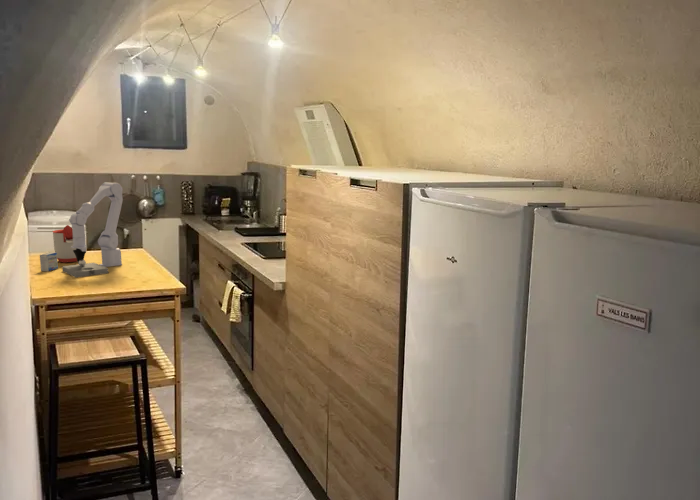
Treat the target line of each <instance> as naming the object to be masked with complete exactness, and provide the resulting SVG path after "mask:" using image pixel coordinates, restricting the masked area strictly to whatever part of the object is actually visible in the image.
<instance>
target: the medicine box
mask: <svg viewBox="0 0 700 500" xmlns="http://www.w3.org/2000/svg"><path fill="white" fill-rule="evenodd" d="M39 260H40V261H39V263H40V271H41V272H51V270H52V271H54V270H57V269H58V268H59V265H58V264H59V263H58V259H57V253H56V252H55V251H52V252H45V253H43V254H39Z"/></svg>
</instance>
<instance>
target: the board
mask: <svg viewBox="0 0 700 500" xmlns="http://www.w3.org/2000/svg"><path fill="white" fill-rule="evenodd" d="M99 264H100V263H96V262H86V264H85V266H80V265H79V264H78V263H77V264H71V265H63V266H62V269H61V270H62V272H63V273H66V274H68V275H70V276H72V277H74V278H83V277H89V276H96V275H97V276H99V275H103V274H109V268H108V267H104V266H101V265H99Z"/></svg>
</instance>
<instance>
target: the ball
mask: <svg viewBox="0 0 700 500" xmlns="http://www.w3.org/2000/svg"><path fill="white" fill-rule="evenodd" d="M86 263H87V262H86V260H80V261H79V262H77V265H78V264H79V265H80V266H85V264H86Z"/></svg>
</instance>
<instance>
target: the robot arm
mask: <svg viewBox="0 0 700 500" xmlns="http://www.w3.org/2000/svg"><path fill="white" fill-rule="evenodd" d="M123 190H124V189H123V186H122V185H121V184H120V182H119V183H118V182H108V181H105V182H103V183H102V184H101V185H100V186H99V187H98V190H97V191H96V192H95V193H94V195H93V196H92V198H90V200H89V201H88V202H84V203H82V204H81V206H80V207H79V209H77V210H76V211H75V213H72V214H71V216H70V218H69V220H68V221H69V223H70V224H71V228H72V231H73V246H71V248H76V250H73V252H74V253H75V256H76V258H77V262H76V263H78V262H79V261H80V260H84V258H85V255H86V253H87V246H86V234H85V233H86V231H85V224H86V223H87V222H88V220H87V219H88V218H89V217H90V215H92V213H93V212H94V211H95V206H97V204H99V203H100V201H102V200H103V199H104V198H105V197H107V198H109V200H110V207H109V209H108V214H107V219H106V224H105V228H104V230H103V231H102V232H101V233H100V236H99V238H98V239H97V245H98V246H99V247H100V250H101V251H100V253H101V263H98V264H99V265H101V266H104V267H106V268H108V267H114V266H115V267H116V266H122V265H123V264H122V253H121V248H119V247H118V245H119V239H118V238H119V235H118V234H117V227H118V223H119V218H120V214H121V210H122V204H123V203H124V202H123V201H124V199H123V198H124V197H123Z"/></svg>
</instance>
